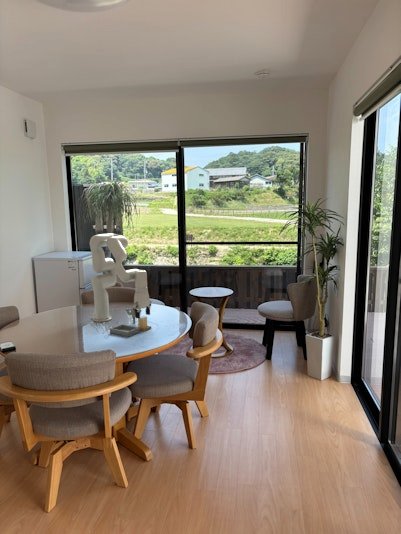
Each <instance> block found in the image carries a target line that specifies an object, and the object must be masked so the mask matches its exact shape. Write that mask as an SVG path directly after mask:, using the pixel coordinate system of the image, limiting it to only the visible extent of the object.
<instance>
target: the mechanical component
mask: <svg viewBox="0 0 401 534" xmlns="http://www.w3.org/2000/svg"><path fill="white" fill-rule="evenodd" d="M125 311H126V314H127V315H128V316H131V317H132V324H133V325H134V324H136V316H135V312H134V310H133V308H132V307H131V308H129V307H128V308H126V309H125ZM139 312H140V313H141V312H142V309H140V310H139Z"/></svg>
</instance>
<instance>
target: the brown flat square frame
mask: <svg viewBox="0 0 401 534" xmlns="http://www.w3.org/2000/svg"><path fill="white" fill-rule="evenodd" d="M136 327H138V325H137V326H136ZM151 329H152V326H151V325H147V327H146V328H144V329H142V328H140V332H142V333H144V332H147V331H150V330H151Z"/></svg>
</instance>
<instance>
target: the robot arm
mask: <svg viewBox="0 0 401 534" xmlns="http://www.w3.org/2000/svg"><path fill="white" fill-rule="evenodd" d="M128 241H129V240H128V239H127V238H126V237H125V236H124V235H121V234H118V233H117V234H116V233H111V232H110V233H100V234H95V235H93V236H91V237H90V240H89V248H90V251H91V261H92V269H93V272H94V273H96V274H97V275H95V276H93V277H92V278H91V286H92V289H93V302H94V312H93V313H92V314H91V315H92V316H94V317H93V318H92V320H93V322H97V323H98V322H99V323H101V322H103V323H104V322H109V321H111V320H112V316H111V315H110V307H109V306H110V304H109V293H108V291H107V290H106V288H111V287H114V286H115V285H116V283H117V277H118V278H119V279H120V281H121V282H123V283H129V282H134V287H135V292H134V296H133V305H132V306H131V308H133V310H134V312H135V316H136V317H135V319H138V318H140V317H141V312H139V310H142V309H145V315H148V316H150V315H151V307H152V303H153V301H152V299H150V294H149V291H148V275H147V271H146V270H145V269H138V268H132V269H125V268H124V266H123V262H124V261H125V260H126V259H127V258H128V253H127V251H126V248H127V247H128V244H129V242H128ZM103 247H107V248H108V249H109V251H110V253H111V254H112V256H113V258H114V259H115V261H114V259H113V258H111V257H106V256H105V251H104V249H103ZM101 273H102V274H101Z"/></svg>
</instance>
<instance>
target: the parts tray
mask: <svg viewBox="0 0 401 534" xmlns="http://www.w3.org/2000/svg"><path fill="white" fill-rule="evenodd" d="M139 333H141V331H140V328H139V327H137V326H133V325H129V324H123V323H122V324H119V325H116V326H113V327H110V328H109V334H110V335H115V336H120V337H121V336H122V337H125V338H129V337H131V336H134V335H136V334H139Z"/></svg>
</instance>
